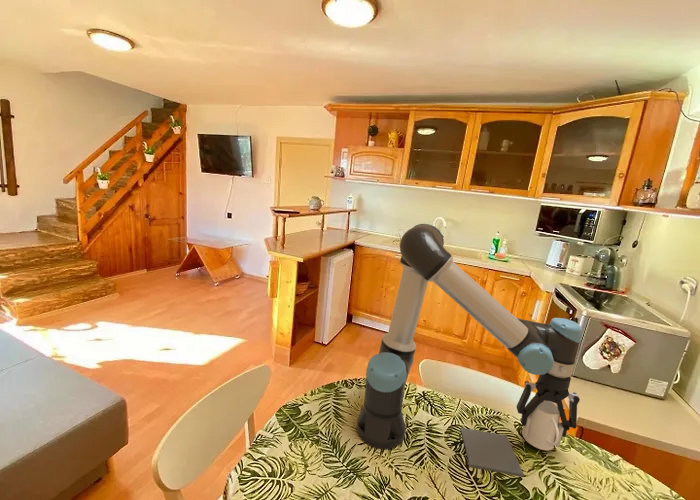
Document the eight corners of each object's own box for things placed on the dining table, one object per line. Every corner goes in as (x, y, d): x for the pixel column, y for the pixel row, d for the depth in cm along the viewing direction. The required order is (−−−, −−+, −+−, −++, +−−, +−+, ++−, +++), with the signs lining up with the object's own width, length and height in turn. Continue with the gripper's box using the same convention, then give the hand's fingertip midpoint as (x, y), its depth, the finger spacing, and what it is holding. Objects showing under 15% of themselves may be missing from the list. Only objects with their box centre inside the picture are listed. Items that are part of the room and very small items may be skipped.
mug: (565, 462, 88) (575, 425, 86) (534, 457, 89) (542, 420, 87) (545, 431, 100) (552, 398, 98) (517, 427, 101) (524, 394, 99)
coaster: (469, 466, 86) (470, 464, 86) (460, 429, 100) (460, 427, 100) (523, 477, 84) (523, 474, 84) (506, 437, 98) (506, 435, 97)
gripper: (518, 368, 90) (504, 436, 94) (604, 388, 83) (584, 460, 87) (514, 356, 97) (501, 420, 101) (593, 374, 90) (575, 441, 94)
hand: (540, 438), depth 94 cm, fingers closed on mug, 8 cm apart
